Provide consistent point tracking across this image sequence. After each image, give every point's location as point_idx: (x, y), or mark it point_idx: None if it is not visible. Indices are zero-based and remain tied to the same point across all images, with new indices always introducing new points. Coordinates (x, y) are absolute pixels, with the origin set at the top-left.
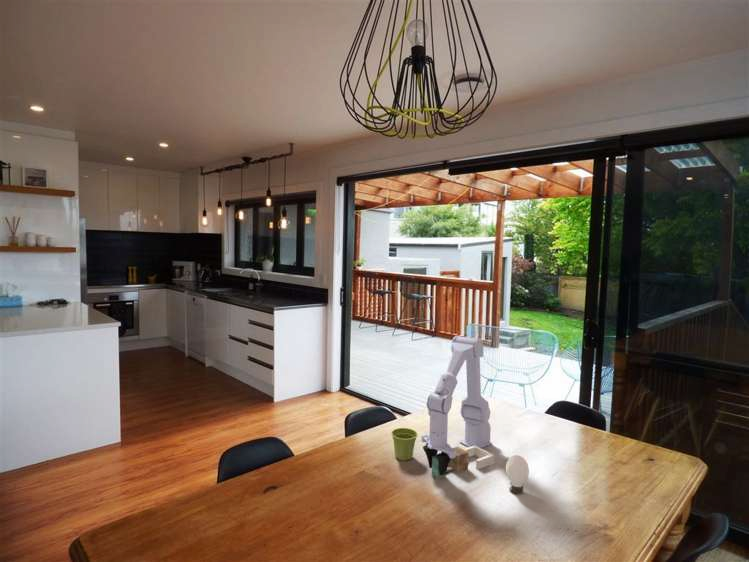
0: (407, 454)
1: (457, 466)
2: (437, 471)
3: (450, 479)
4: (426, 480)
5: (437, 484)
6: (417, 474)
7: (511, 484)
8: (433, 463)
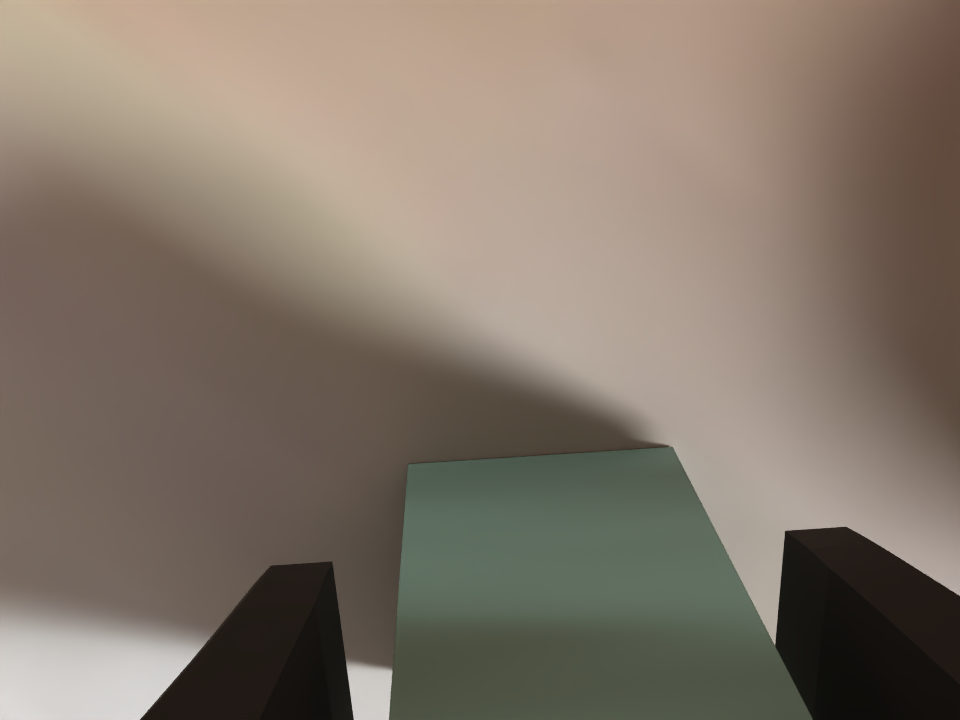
0: None
1: None
2: (428, 575)
3: None
4: (474, 92)
5: (120, 254)
6: (931, 57)
7: None
8: (709, 707)
